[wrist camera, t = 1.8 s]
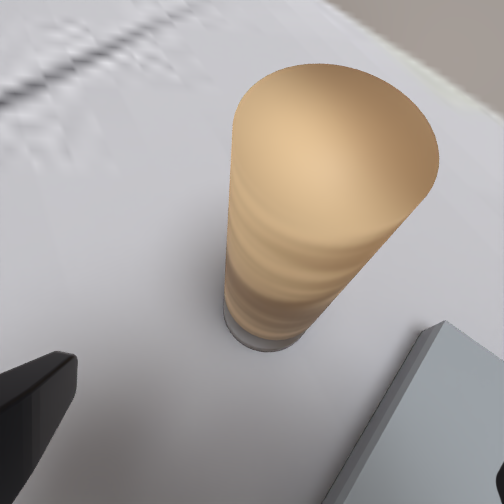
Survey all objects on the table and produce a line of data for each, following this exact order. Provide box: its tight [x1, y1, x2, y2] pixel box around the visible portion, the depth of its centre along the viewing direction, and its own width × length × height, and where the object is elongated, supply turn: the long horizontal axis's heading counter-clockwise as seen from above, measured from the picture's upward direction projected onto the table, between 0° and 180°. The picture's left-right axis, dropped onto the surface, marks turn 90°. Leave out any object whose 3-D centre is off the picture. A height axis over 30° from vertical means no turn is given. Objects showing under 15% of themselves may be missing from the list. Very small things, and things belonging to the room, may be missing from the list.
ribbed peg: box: [223, 64, 439, 352], centre depth 15 cm, size 5×5×14 cm
